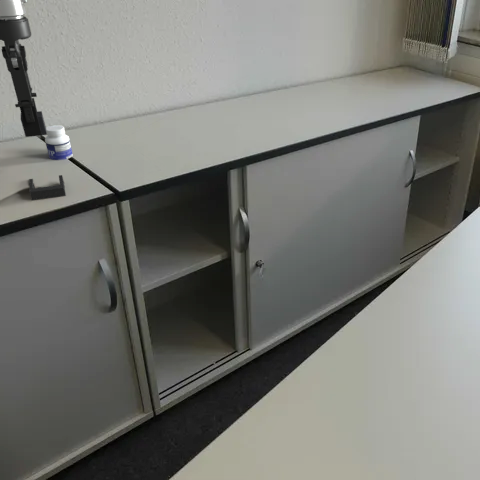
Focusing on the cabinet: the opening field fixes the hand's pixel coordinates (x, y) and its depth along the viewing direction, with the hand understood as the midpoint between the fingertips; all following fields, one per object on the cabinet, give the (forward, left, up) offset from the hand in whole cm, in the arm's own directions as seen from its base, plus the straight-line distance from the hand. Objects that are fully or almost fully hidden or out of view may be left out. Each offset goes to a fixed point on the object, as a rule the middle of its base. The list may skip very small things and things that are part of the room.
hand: (34, 131), depth 117 cm
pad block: (0, 0, 0) cm, 0 cm away
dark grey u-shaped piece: (+3, -3, -13) cm, 13 cm away
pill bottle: (-6, +11, -13) cm, 18 cm away
